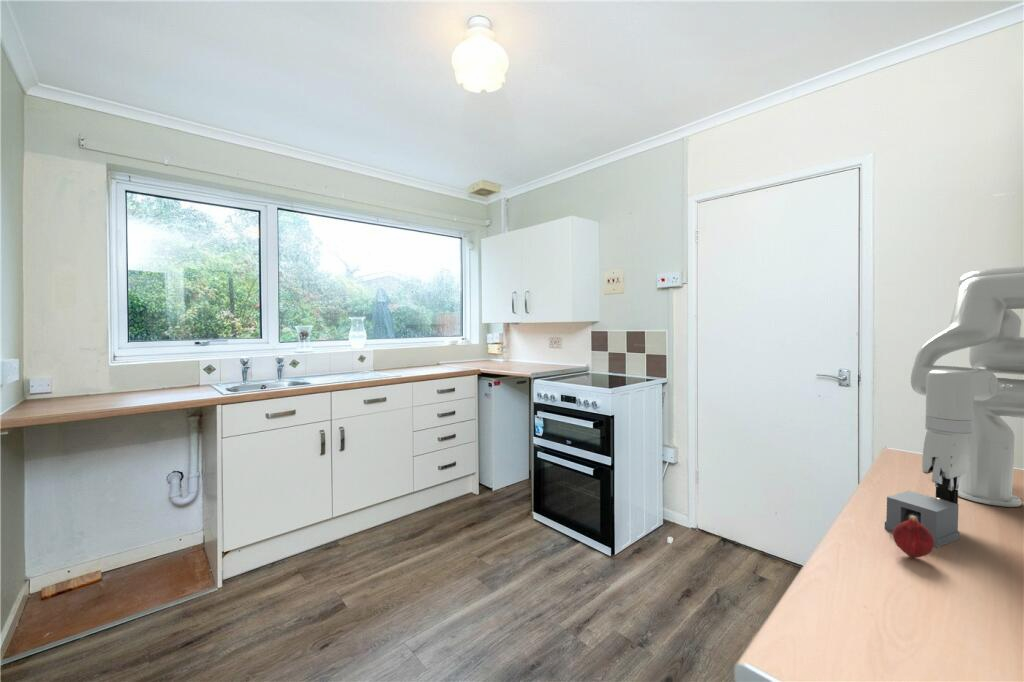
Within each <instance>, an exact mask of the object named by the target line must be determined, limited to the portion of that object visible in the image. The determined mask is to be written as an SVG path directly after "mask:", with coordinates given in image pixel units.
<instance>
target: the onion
mask: <svg viewBox="0 0 1024 682" xmlns="http://www.w3.org/2000/svg"><path fill="white" fill-rule="evenodd" d="M892 537H893V541H894V543H895V544H896V546H897V547H898V548H899V549H900V550H901V551H902V552H903V553H905V555H907V556H908V557H909V558H913V559H917V558H919V557H921V558H922V557H925V556H927V555H929V554H930V553H931V552H932V551H933V549H934V548H935V546H934V540H933V537H932V535H931V533H930V532H929V531H928V530H927V528H926V527H924V526H923V525H922V524H920V523H919V522H918V521H917V519H916V518H915V517H914V516H911V517H910V519H909V520H908V521H904V522H902V523H900V524H898V525H897V526H896V527H895V528H894V530H893V531H892Z"/></svg>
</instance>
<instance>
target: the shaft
mask: <svg viewBox="0 0 1024 682" xmlns="http://www.w3.org/2000/svg"><path fill="white" fill-rule="evenodd" d="M935 498H937V499H941V500H945V501H948V500H946V499H944V498H939V497H936V496H935ZM948 502H950V501H948ZM911 516H914V517H915V518H916V519H917V521H918V522H919V523H920V522H921V513H920V512H915V513H912V514H909V515H907V516H906V519H907V521H908V520H909V519H910V517H911Z"/></svg>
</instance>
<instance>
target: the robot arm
mask: <svg viewBox="0 0 1024 682" xmlns="http://www.w3.org/2000/svg"><path fill="white" fill-rule="evenodd" d="M1018 309H1019V310H1020V309H1021V310H1022V309H1023V310H1024V266H1011V267H995V268H985V269H978V270H973V271H969V272H967V273H964V274H963V275H962V276H961V277H960V278H959V281H958V291H957V295H956V298H955V302H954V306H953V310H952V313H951V314H952V315H951V316H950V321H949V325H948V328H946V329H945V330H942V331H941V332H939V333H938V334H936V335H934V336H933V337H931V338H930V339H929V340H928V341H927V342H925V343H924V345H923V346H921V347H920V348H919V350H918V351H917V354H916V356H915V358H914V363H913V366H912V369H911V370H912V371H911V374H910V375H911V376H910V385H911V388H912V390H913V391H914V392H915V393H916V394H919V395H921V396H925V422H924V423H925V427H924V429H925V430H926V432H925V437H924V440H923V448H922V449H923V450H922V461H921V472H922V473H924V474H927V475H929V474H930V473H932V475H931V482H932V483H934V486H935V498H936V497H939V498H944V499H946V500H948V501H950V502H952V503H956V504H958V503H959V497H960V498H962V499H965V500H969V501H972V502H976V503H980V504H984V505H990V506H996V507H1006V508H1007V507H1008V508H1016V507H1017V508H1018V507H1021V506H1022V503H1023V502H1022V499H1021V498H1019V497H1018V496H1016V495H1013V486H1014V485H1013V482H1014V478H1013V477H1014V458H1015V433H1014V431H1013V429H1012V428H1011V426H1010V425H1009V424H1008V423H1007V422H1006V421H1005V420H1004V419H1003V418H1002V417H1011V418H1020V419H1024V379H1019V378H1007V377H997V376H996V375H995V374H1002V375H1019V376H1024V336H1023V337H1021V328H1022V327H1021V325H1022V319H1021V317H1020V316H1019V315H1018V314H1017V313H1016V312H1015V310H1018ZM968 348H969V353H968V355H969V356H968V358H969V359H968V360H969V364H970V367H965V366H954V365H953V366H951V365H935V364H936V362H937V361H938V360H940V358H942V357H944V356H946V355H948V354H950V353H953V352H956V351H960V350H963V349H964V350H965V349H968Z"/></svg>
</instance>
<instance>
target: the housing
mask: <svg viewBox="0 0 1024 682" xmlns="http://www.w3.org/2000/svg"><path fill="white" fill-rule="evenodd" d="M915 512H920V513H921V522H920V524H922V525H923V526H924V527H926V528H927V530H928V531H929V532H930V533H931V535H932V537H933V540H934V548H935V547H936V548H940V547H942V546H945V545H946V544H947V545H948V544H949V543H952V542H954V541H957V540H959V539H960V532H961V531H960V530H959V528H958V527H959V504H956V503H952V502H948V501H945V500H941V499H937V498H936V497H935V496H934V497H933V496H929V495H927V494H922V493H919V492H917V491H916V492H915V491H912V490H907V491H902V492H900V493H896V494H893V495H889V496H886V518H885V519H886V521H884V529H885V530H888V531H890V532H893V530H894V528H895V527H896V526H897V525H898V524H900V523H902V522H904V521H907V519H906V516H907V515H909V514H912V513H915Z"/></svg>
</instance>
